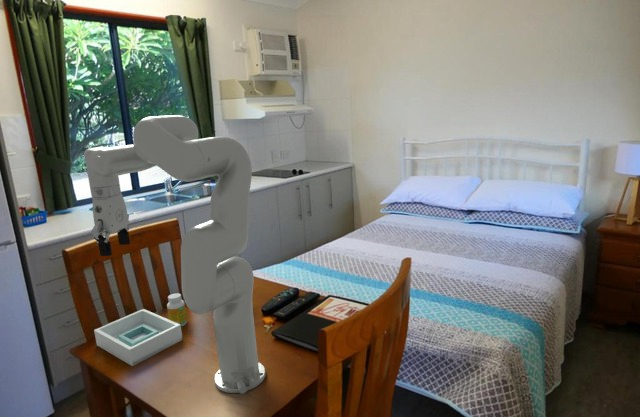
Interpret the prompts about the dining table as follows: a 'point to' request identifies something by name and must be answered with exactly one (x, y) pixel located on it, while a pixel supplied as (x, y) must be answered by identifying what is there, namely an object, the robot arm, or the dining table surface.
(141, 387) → the dining table surface
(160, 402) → the dining table surface
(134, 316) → the storage box
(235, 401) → the dining table surface
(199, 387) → the dining table surface
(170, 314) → the supplement bottle
